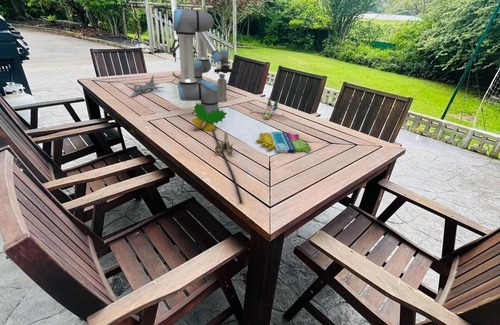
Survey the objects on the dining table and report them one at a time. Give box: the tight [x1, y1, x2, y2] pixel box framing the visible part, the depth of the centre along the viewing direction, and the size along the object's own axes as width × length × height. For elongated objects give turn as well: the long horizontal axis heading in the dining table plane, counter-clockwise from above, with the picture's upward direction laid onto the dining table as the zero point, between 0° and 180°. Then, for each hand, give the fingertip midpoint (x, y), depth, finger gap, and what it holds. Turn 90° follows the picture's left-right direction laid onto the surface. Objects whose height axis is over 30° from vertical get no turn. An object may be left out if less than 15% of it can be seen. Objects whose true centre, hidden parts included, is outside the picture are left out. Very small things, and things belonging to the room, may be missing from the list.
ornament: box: [191, 101, 228, 132], centre depth 162 cm, size 21×8×15 cm, turn 105°
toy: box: [249, 99, 287, 120], centre depth 196 cm, size 28×7×30 cm
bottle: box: [216, 77, 227, 103], centre depth 215 cm, size 7×7×21 cm
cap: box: [218, 73, 226, 79], centre depth 210 cm, size 4×4×2 cm
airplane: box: [129, 74, 165, 98], centre depth 227 cm, size 38×31×10 cm
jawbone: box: [214, 131, 234, 156], centre depth 136 cm, size 9×15×10 cm
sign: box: [256, 131, 312, 154], centre depth 152 cm, size 26×2×30 cm
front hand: (184, 61), depth 211 cm, fingers open, 13 cm apart
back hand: (226, 72), depth 226 cm, fingers open, 13 cm apart
